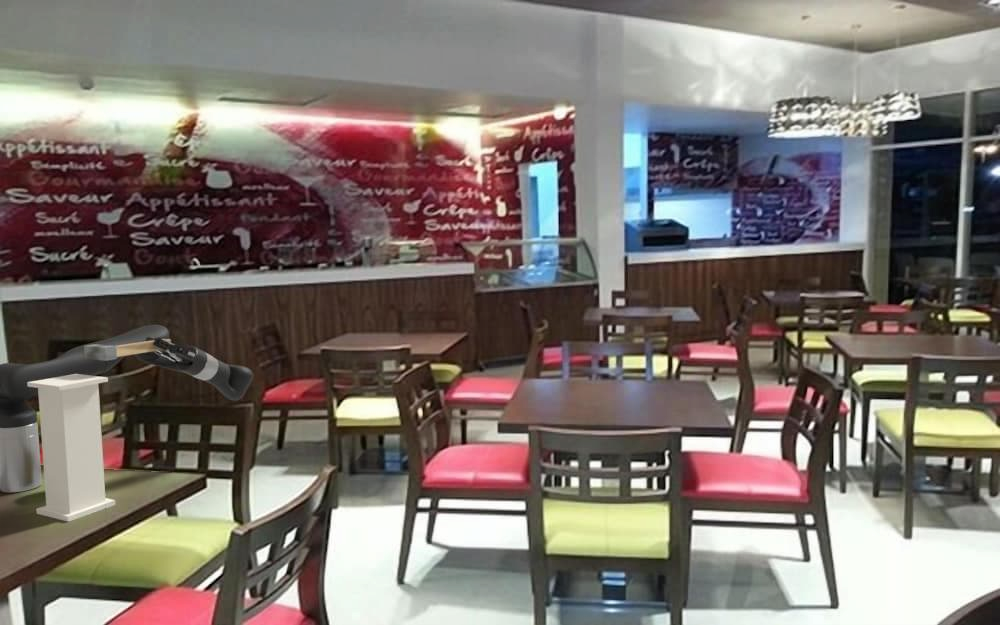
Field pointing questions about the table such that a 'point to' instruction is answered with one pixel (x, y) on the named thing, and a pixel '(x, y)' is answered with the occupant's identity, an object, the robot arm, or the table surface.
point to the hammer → (119, 350)
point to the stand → (71, 446)
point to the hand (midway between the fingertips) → (150, 340)
